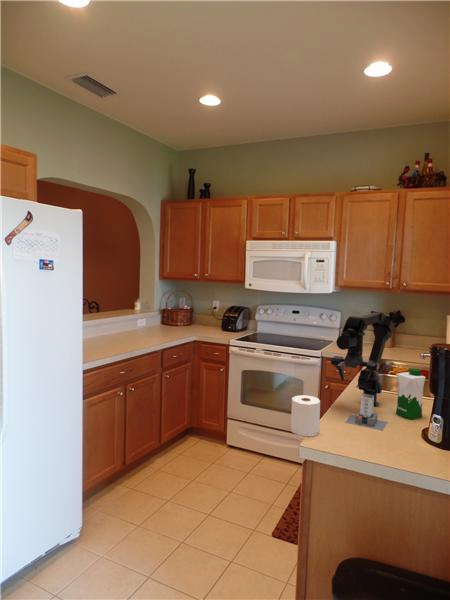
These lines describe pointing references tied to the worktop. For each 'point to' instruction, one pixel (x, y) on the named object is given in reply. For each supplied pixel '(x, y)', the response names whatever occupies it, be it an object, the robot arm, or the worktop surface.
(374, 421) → the stand
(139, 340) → the worktop surface
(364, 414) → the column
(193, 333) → the worktop surface
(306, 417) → the toilet paper
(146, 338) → the worktop surface
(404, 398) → the milk carton
